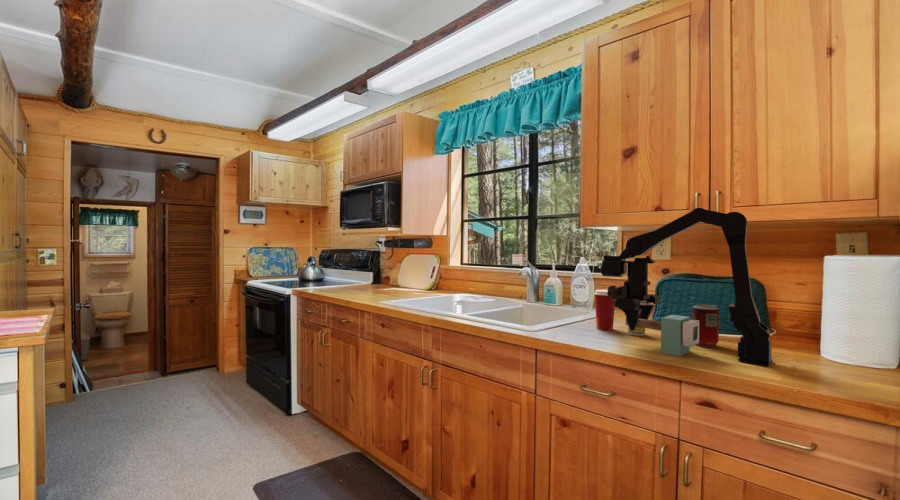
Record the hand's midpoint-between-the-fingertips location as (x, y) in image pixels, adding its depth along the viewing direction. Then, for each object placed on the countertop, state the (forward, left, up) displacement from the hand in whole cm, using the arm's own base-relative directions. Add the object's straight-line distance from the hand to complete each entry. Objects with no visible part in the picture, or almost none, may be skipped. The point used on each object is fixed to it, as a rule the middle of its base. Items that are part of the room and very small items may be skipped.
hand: (637, 328), depth 129 cm
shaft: (-6, 0, +1) cm, 6 cm away
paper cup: (+19, -17, -5) cm, 26 cm away
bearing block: (-11, 0, -5) cm, 12 cm away
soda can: (-14, -16, -5) cm, 22 cm away
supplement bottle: (+7, -16, -5) cm, 18 cm away
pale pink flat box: (-15, 0, -2) cm, 15 cm away
